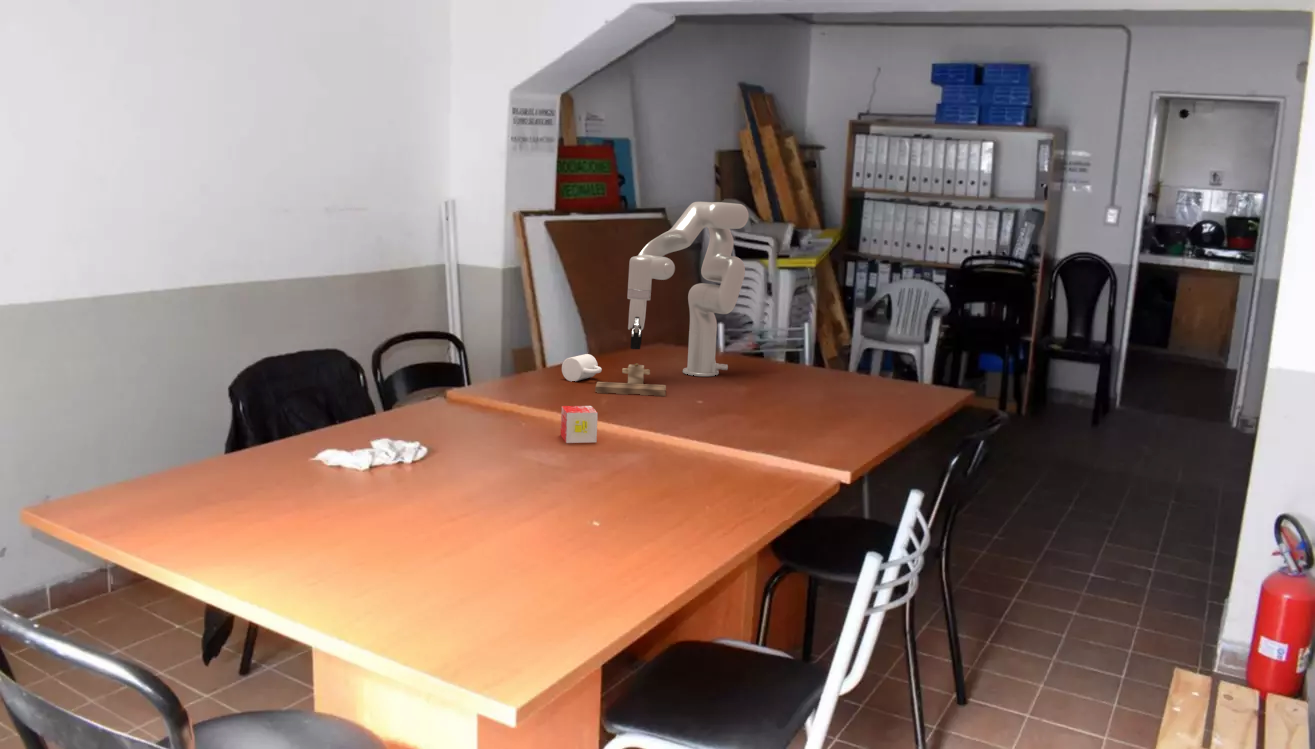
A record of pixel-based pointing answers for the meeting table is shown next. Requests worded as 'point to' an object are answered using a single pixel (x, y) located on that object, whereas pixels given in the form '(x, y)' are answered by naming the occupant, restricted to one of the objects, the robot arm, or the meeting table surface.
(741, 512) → the meeting table surface
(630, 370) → the beige block with peg
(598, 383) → the board
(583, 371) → the mug
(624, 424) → the meeting table surface
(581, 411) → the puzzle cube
